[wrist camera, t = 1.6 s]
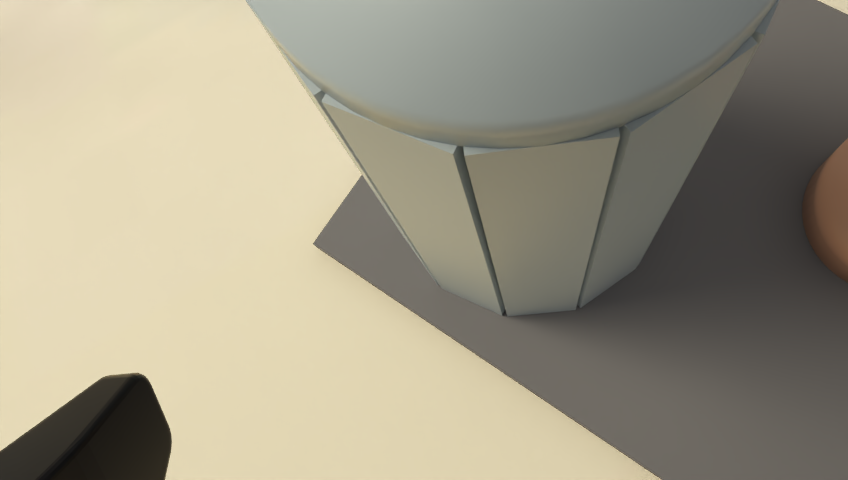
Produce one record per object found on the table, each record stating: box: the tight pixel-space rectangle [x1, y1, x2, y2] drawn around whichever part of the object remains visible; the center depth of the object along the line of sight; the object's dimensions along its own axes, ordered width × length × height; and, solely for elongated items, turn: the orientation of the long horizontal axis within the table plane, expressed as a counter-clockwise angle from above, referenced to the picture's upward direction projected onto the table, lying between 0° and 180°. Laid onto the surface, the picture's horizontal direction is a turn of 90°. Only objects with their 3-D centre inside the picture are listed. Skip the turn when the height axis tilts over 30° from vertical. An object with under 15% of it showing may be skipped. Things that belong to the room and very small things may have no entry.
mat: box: [313, 0, 848, 480], centre depth 20 cm, size 13×15×1 cm
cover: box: [246, 0, 779, 317], centre depth 15 cm, size 7×7×12 cm
